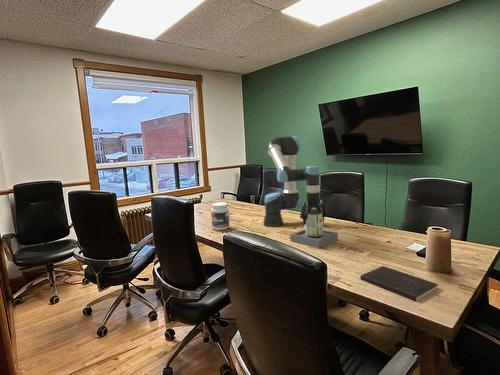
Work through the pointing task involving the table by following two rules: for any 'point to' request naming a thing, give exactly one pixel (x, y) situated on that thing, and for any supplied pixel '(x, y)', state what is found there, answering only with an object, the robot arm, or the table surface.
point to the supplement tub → (220, 216)
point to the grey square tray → (314, 238)
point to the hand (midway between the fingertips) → (313, 228)
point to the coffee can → (314, 223)
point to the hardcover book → (399, 283)
